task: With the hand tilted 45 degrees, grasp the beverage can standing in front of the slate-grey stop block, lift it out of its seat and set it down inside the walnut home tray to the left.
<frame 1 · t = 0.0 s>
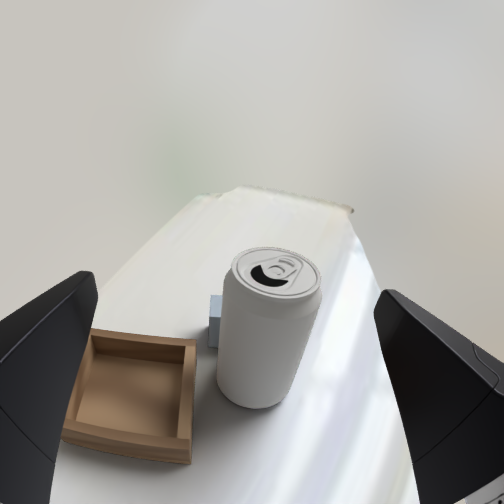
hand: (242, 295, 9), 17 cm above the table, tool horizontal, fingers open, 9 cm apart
beverage can: (252, 383, 25), on the table
home tray: (132, 402, 21), on the table
stop block: (249, 337, 30), on the table
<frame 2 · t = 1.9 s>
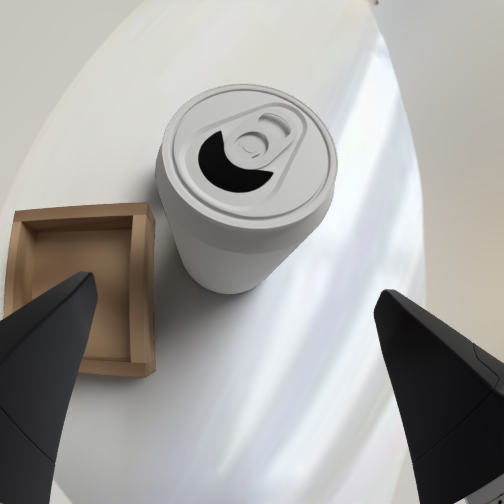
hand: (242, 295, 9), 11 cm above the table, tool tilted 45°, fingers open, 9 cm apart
beverage can: (228, 248, 21), on the table
home tray: (84, 293, 18), on the table
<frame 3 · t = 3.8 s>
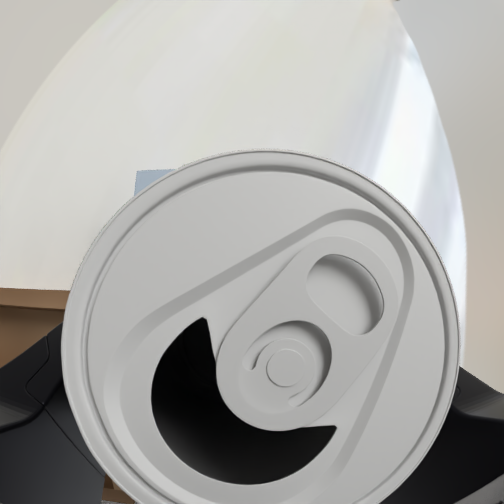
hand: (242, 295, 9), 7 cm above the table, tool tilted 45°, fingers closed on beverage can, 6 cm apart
beverage can: (228, 338, 15), on the table, touching gripper
home tray: (51, 386, 13), on the table
stop block: (225, 231, 16), on the table
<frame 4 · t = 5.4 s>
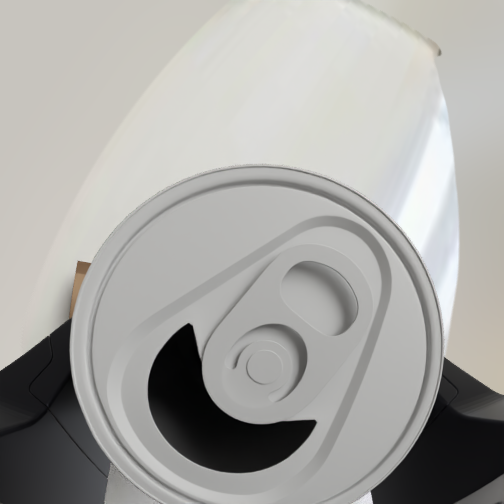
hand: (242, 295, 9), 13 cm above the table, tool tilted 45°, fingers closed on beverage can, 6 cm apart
beverage can: (241, 336, 15), point 6 cm above the table, touching gripper
home tray: (147, 347, 20), on the table
when the fingers open (8 cm above the table, at t = 7.2 s): beverage can stays where it is, resting on home tray.
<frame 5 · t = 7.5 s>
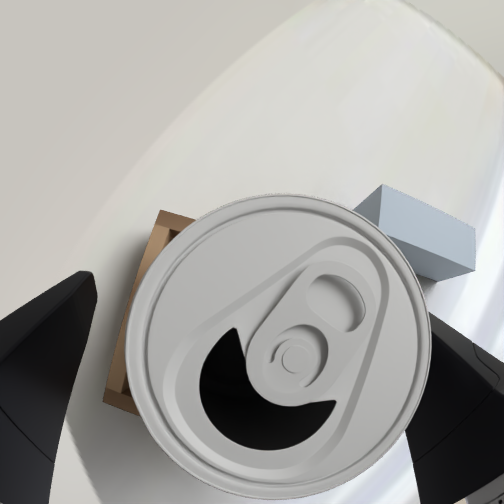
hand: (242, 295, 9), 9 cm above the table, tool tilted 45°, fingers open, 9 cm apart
beverage can: (236, 338, 16), resting on home tray
home tray: (225, 336, 17), on the table
stop block: (399, 247, 20), on the table
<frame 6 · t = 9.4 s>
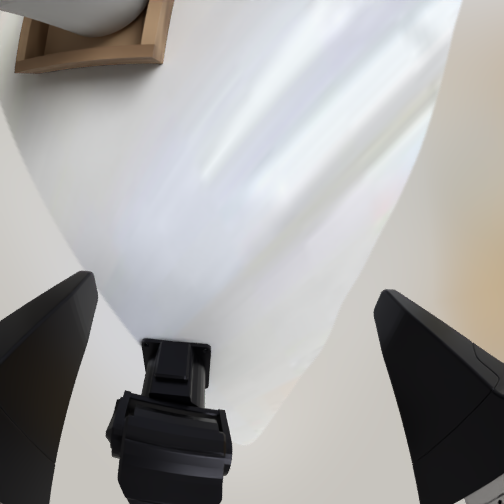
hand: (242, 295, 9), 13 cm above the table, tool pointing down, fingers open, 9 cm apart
home tray: (105, 2, 13), on the table
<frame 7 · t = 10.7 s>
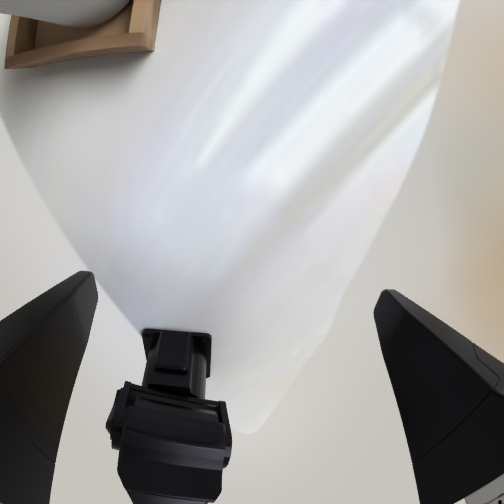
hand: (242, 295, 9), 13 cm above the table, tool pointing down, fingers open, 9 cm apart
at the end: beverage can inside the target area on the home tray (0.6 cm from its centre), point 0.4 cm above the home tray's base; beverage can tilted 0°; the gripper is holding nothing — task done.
